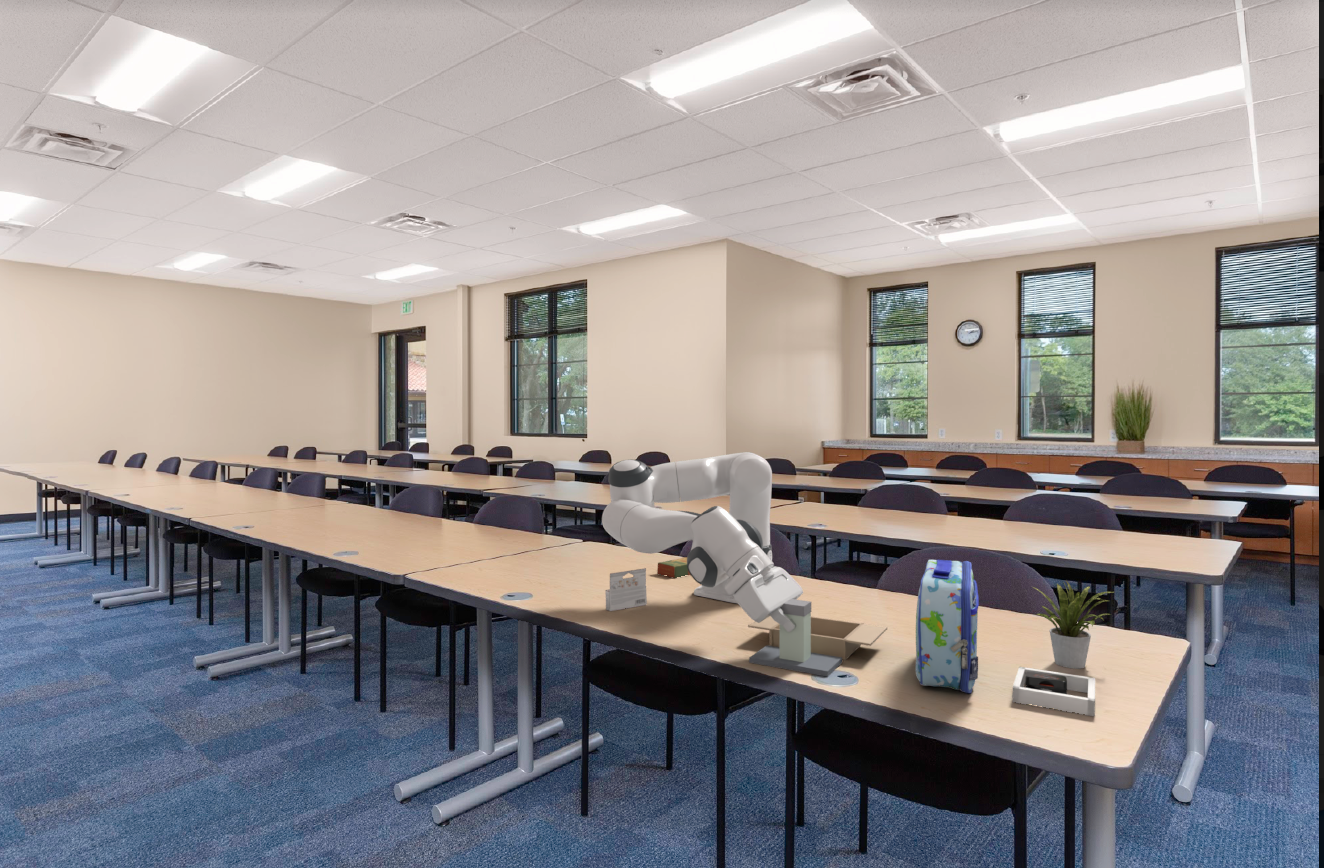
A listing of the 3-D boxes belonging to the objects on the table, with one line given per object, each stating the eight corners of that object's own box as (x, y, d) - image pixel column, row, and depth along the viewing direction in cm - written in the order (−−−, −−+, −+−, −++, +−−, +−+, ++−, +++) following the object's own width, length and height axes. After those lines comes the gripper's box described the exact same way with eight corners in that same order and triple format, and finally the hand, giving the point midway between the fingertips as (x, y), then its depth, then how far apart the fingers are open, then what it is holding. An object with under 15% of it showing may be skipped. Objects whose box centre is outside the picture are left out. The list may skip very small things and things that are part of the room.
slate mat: (749, 662, 145) (749, 657, 145) (766, 650, 153) (766, 645, 153) (827, 676, 137) (827, 671, 137) (842, 662, 144) (842, 657, 144)
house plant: (1138, 674, 136) (1139, 587, 136) (1079, 682, 133) (1080, 593, 132) (1075, 651, 150) (1075, 572, 150) (1020, 658, 146) (1020, 576, 146)
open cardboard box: (747, 644, 157) (747, 625, 156) (772, 628, 168) (772, 610, 168) (870, 664, 143) (870, 644, 143) (887, 645, 155) (887, 626, 155)
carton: (712, 572, 232) (712, 558, 232) (674, 580, 221) (674, 565, 221) (694, 568, 238) (694, 555, 238) (656, 575, 228) (656, 561, 227)
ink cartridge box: (605, 609, 186) (604, 571, 186) (642, 603, 192) (641, 566, 192) (609, 612, 184) (609, 573, 184) (647, 605, 190) (646, 568, 190)
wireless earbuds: (1020, 688, 130) (1020, 670, 130) (1065, 694, 127) (1066, 676, 127) (1021, 698, 126) (1021, 679, 126) (1068, 704, 123) (1068, 685, 123)
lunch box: (979, 703, 123) (979, 580, 123) (912, 694, 128) (912, 575, 127) (977, 656, 148) (977, 553, 147) (920, 650, 152) (920, 549, 151)
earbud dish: (1012, 702, 124) (1012, 687, 124) (1019, 680, 134) (1019, 666, 134) (1094, 716, 118) (1094, 701, 117) (1095, 692, 128) (1095, 678, 128)
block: (778, 658, 144) (778, 602, 144) (786, 652, 148) (786, 598, 147) (804, 662, 141) (804, 606, 141) (811, 656, 145) (811, 601, 145)
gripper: (762, 571, 159) (805, 622, 154) (720, 591, 141) (767, 649, 137) (781, 553, 157) (826, 604, 152) (741, 570, 139) (790, 629, 134)
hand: (798, 626), depth 144 cm, fingers closed on block, 4 cm apart
